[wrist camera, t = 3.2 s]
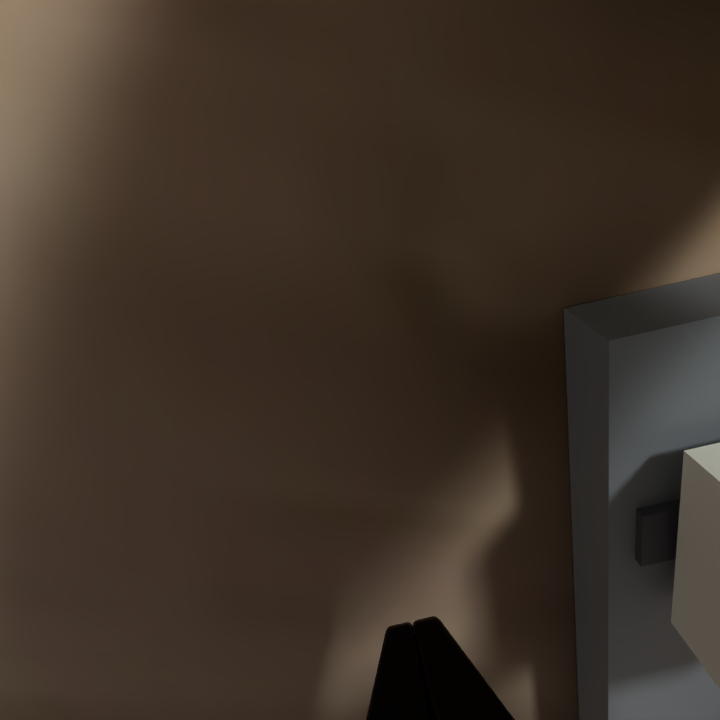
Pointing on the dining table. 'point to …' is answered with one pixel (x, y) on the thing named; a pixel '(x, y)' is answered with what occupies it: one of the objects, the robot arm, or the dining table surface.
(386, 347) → the dining table surface
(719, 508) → the fader ivory
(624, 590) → the console
